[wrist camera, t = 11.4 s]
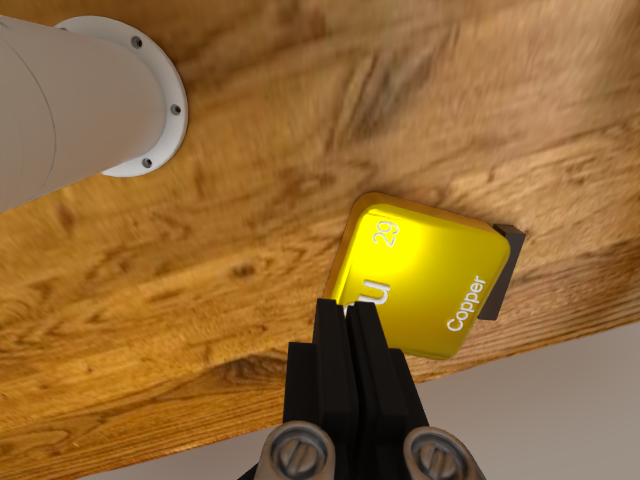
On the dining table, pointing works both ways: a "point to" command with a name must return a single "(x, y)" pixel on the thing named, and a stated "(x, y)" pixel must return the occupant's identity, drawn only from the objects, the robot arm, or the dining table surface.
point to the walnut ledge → (503, 272)
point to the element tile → (417, 271)
